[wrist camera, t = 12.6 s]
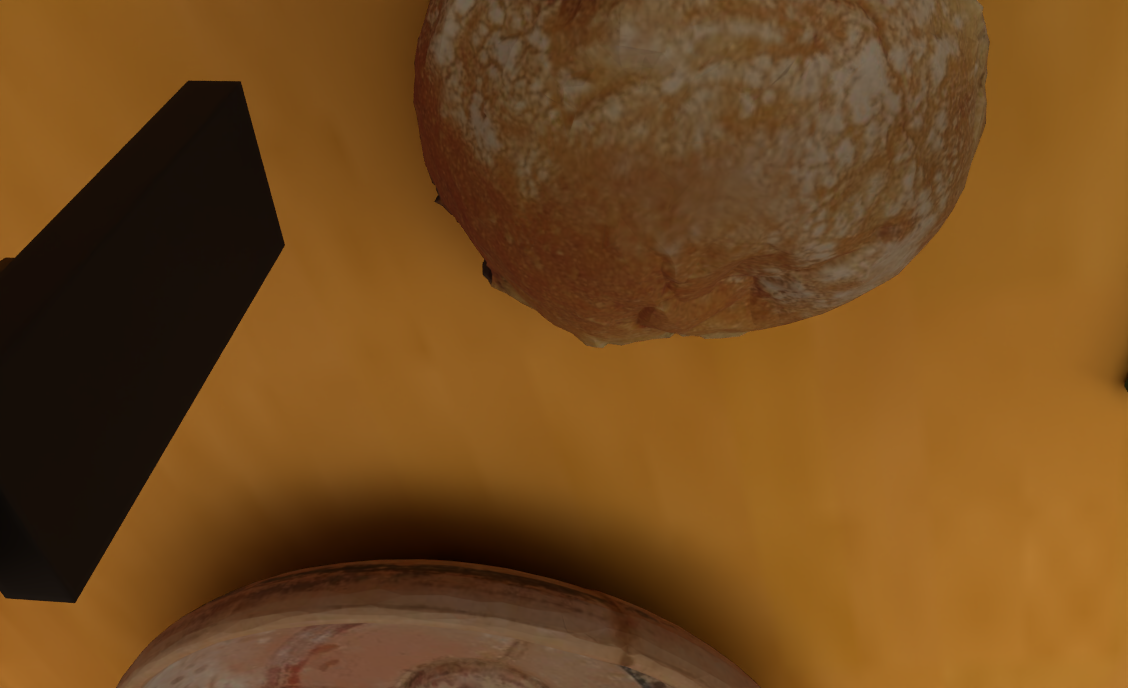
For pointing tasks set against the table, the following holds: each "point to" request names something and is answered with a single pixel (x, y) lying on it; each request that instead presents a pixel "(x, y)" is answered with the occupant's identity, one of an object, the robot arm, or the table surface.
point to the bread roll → (698, 151)
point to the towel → (1126, 384)
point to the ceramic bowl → (425, 635)
